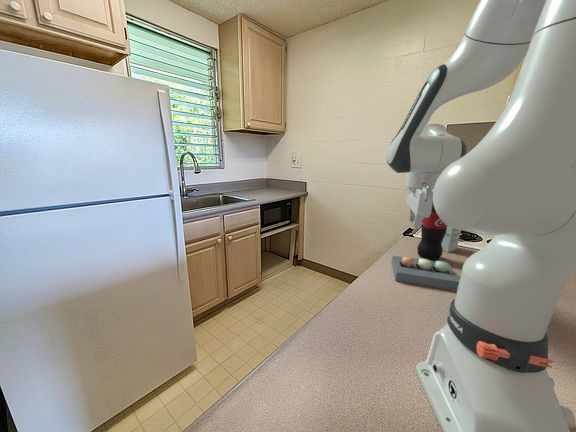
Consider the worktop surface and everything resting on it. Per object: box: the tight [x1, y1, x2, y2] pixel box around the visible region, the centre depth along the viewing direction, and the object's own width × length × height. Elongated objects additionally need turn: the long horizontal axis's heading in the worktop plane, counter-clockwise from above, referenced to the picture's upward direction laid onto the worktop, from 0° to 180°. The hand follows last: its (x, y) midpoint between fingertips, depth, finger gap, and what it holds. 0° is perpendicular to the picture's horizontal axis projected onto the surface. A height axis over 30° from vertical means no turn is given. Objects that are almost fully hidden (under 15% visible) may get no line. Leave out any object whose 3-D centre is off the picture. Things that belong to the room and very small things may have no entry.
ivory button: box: [418, 258, 432, 269], centre depth 80 cm, size 4×4×2 cm
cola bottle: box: [417, 203, 447, 261], centre depth 92 cm, size 8×8×30 cm
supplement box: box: [442, 226, 462, 253], centre depth 105 cm, size 7×7×13 cm
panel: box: [391, 255, 460, 292], centre depth 81 cm, size 14×18×3 cm
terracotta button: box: [401, 255, 415, 267], centre depth 82 cm, size 4×4×2 cm
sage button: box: [435, 260, 450, 272], centre depth 79 cm, size 4×4×2 cm
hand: (414, 224), depth 78 cm, fingers open, 6 cm apart
